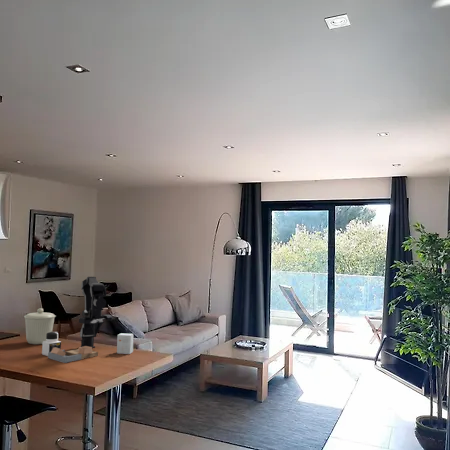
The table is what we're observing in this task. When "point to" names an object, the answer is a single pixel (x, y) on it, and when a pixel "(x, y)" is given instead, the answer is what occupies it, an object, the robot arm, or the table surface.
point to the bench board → (75, 352)
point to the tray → (64, 357)
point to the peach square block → (85, 350)
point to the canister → (38, 326)
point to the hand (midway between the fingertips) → (95, 334)
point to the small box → (124, 343)
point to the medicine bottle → (50, 343)
